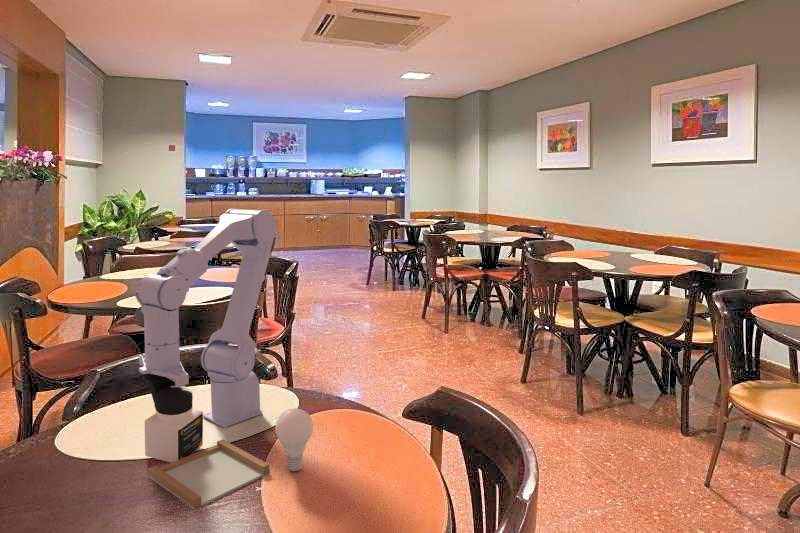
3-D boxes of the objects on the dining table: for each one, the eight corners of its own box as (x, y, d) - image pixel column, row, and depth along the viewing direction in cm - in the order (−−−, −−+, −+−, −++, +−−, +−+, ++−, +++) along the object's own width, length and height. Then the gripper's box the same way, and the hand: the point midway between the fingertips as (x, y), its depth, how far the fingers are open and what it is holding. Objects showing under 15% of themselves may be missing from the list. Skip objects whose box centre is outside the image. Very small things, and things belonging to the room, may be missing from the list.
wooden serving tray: (222, 447, 104) (222, 439, 104) (269, 473, 95) (269, 464, 95) (149, 477, 93) (148, 468, 93) (194, 509, 84) (193, 500, 84)
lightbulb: (320, 464, 98) (319, 405, 96) (302, 483, 92) (301, 420, 91) (288, 458, 100) (287, 400, 98) (269, 475, 94) (267, 414, 93)
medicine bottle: (178, 465, 97) (178, 402, 95) (144, 456, 99) (143, 394, 96) (203, 445, 104) (204, 386, 101) (170, 437, 106) (170, 378, 103)
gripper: (121, 335, 102) (124, 405, 104) (160, 356, 93) (162, 432, 95) (159, 328, 107) (161, 395, 109) (199, 347, 98) (200, 419, 100)
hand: (164, 411), depth 103 cm, fingers closed, pressing on medicine bottle
